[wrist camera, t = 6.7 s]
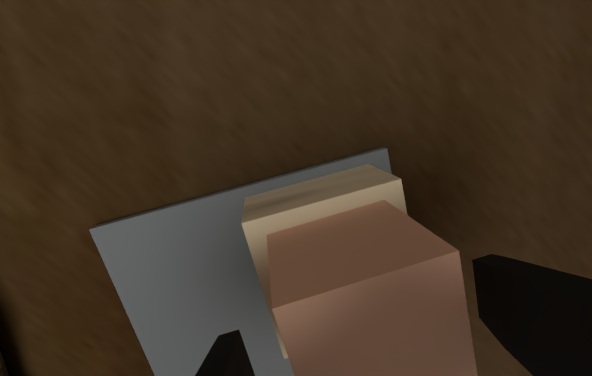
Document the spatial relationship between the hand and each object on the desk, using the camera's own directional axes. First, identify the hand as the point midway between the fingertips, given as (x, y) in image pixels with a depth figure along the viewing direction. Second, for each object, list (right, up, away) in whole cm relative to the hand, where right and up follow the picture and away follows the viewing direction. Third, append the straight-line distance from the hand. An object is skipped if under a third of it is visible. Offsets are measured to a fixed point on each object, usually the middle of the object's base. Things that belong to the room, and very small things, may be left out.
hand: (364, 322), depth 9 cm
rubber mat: (-3, -2, +7) cm, 8 cm away
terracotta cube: (0, +1, +3) cm, 3 cm away
